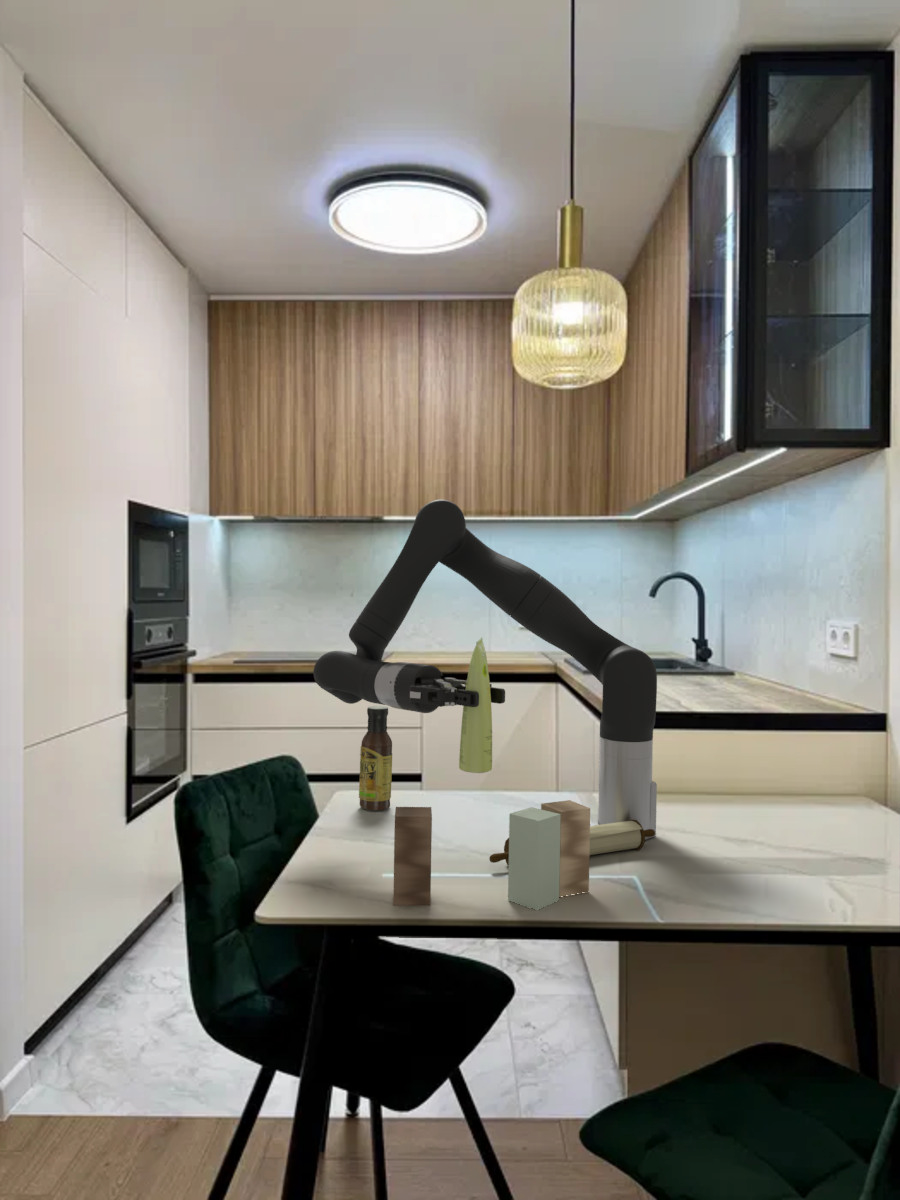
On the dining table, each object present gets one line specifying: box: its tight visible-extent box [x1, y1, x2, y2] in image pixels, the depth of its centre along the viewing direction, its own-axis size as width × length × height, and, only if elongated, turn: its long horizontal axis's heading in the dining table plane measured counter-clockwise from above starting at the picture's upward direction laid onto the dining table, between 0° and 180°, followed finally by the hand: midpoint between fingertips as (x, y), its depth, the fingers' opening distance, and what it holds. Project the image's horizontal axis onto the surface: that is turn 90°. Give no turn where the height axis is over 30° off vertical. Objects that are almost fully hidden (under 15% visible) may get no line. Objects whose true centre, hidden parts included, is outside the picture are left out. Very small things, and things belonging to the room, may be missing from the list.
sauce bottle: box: [358, 705, 393, 812], centre depth 160 cm, size 6×6×20 cm
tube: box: [458, 637, 493, 774], centre depth 121 cm, size 6×5×20 cm
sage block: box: [507, 806, 561, 911], centre depth 113 cm, size 5×5×12 cm
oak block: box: [540, 799, 591, 897], centre depth 117 cm, size 5×5×12 cm
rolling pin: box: [489, 820, 655, 867], centre depth 132 cm, size 32×6×5 cm, turn 117°
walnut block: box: [392, 806, 433, 906], centre depth 113 cm, size 5×5×12 cm
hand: (490, 698), depth 120 cm, fingers closed on tube, 5 cm apart
